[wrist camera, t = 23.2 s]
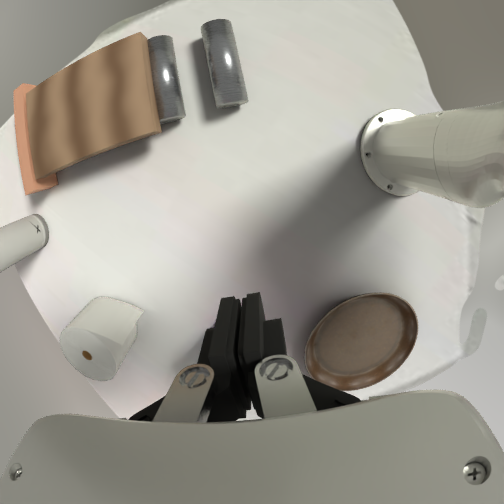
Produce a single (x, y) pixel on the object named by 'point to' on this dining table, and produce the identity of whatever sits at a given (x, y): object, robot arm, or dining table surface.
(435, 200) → the dining table surface
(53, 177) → the bar
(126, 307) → the toilet tissue
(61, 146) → the slab
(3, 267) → the travel mug
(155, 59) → the middle roller
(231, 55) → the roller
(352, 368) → the plant saucer
